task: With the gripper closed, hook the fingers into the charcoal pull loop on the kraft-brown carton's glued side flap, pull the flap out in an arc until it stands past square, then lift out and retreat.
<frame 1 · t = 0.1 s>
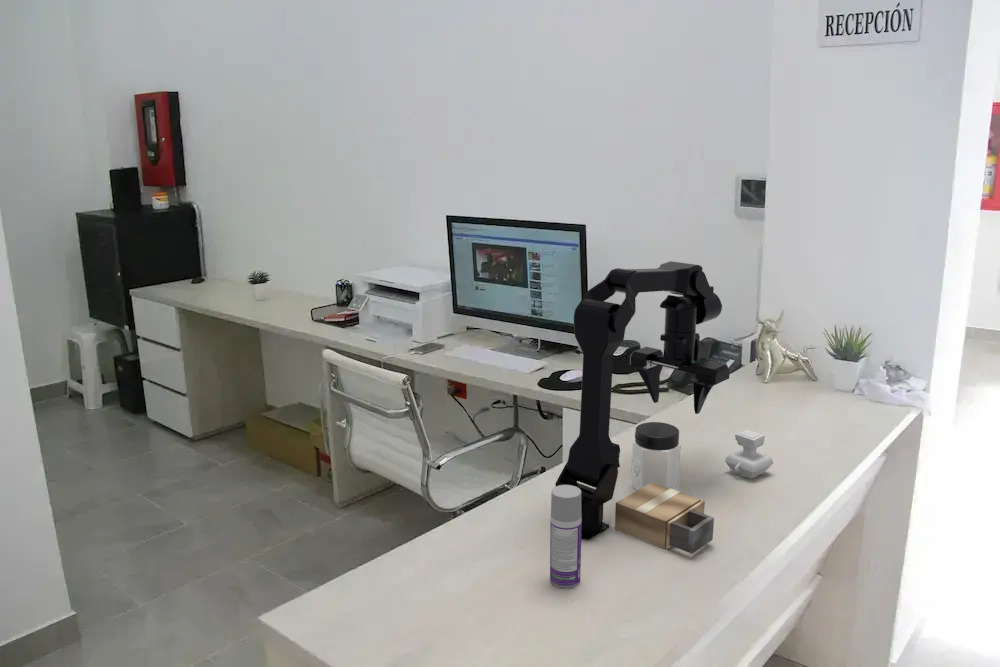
hand: (676, 407, 160), 15 cm above the table, fingers open, 9 cm apart
container: (565, 581, 129), on the table
jar: (654, 489, 160), on the table
stamp: (747, 474, 166), on the table
flap: (697, 527, 139), point 3 cm above the table, hinge at 0.0°
carton: (657, 527, 145), on the table
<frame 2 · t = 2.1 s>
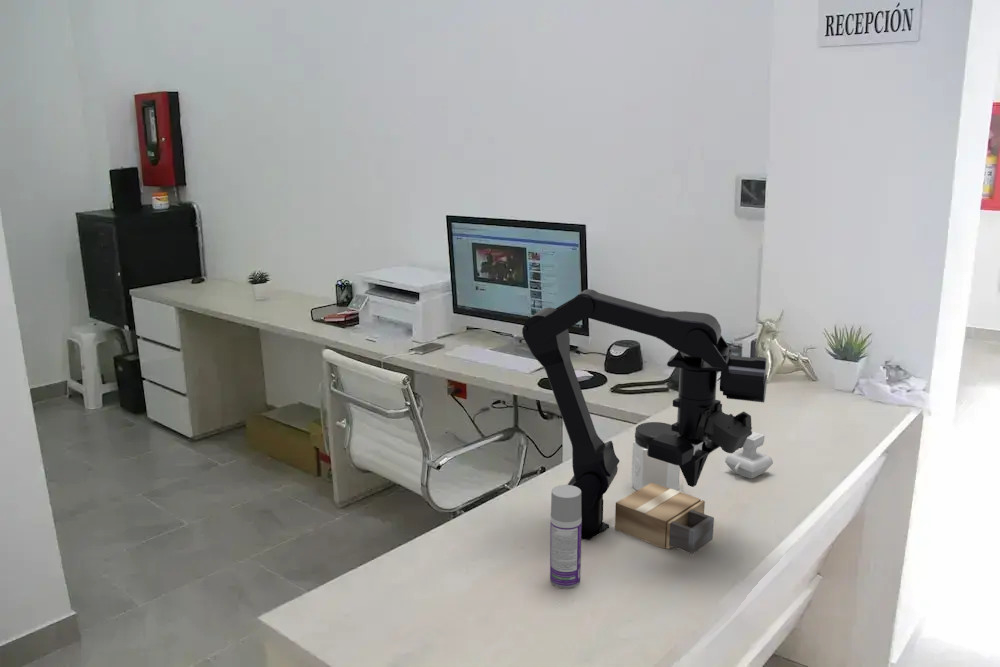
hand: (691, 485, 135), 11 cm above the table, fingers closed
nothing on the table moved.
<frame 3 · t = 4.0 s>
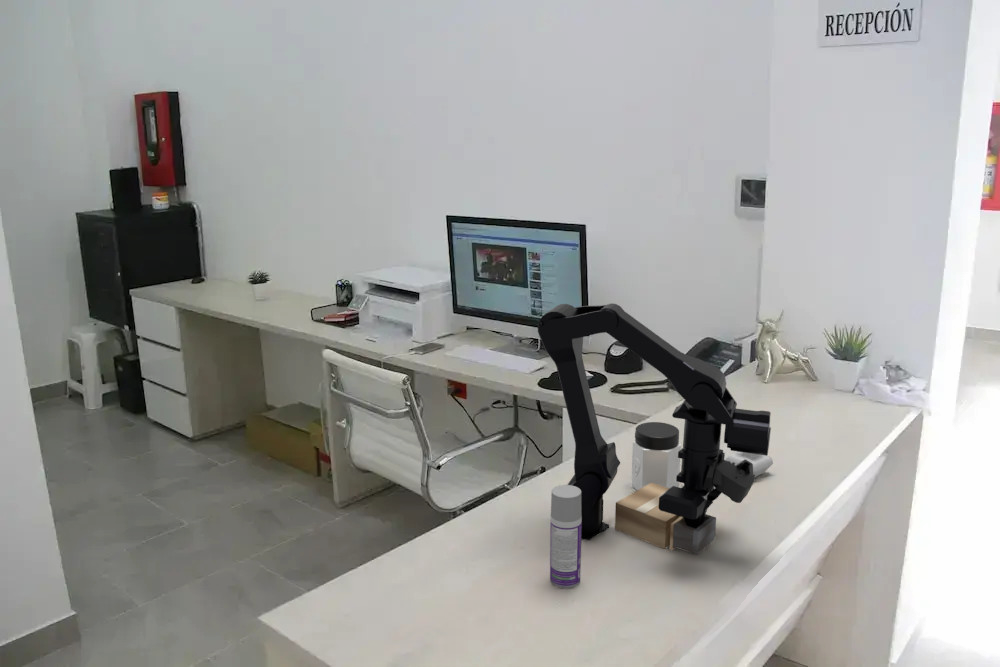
hand: (694, 533, 137), 3 cm above the table, fingers closed
flap: (699, 528, 139), point 3 cm above the table, hinge at 3.4°, touching gripper
everything else where it was.
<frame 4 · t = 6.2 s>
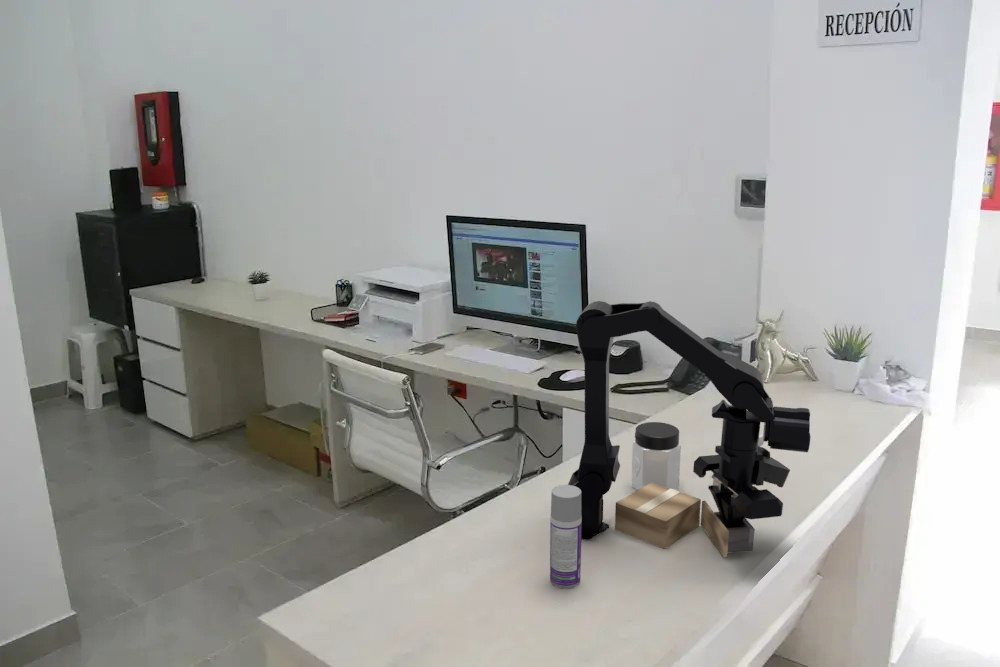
hand: (731, 532, 137), 3 cm above the table, fingers closed
flap: (726, 527, 139), point 3 cm above the table, hinge at 49.9°, touching gripper
everything else where it was.
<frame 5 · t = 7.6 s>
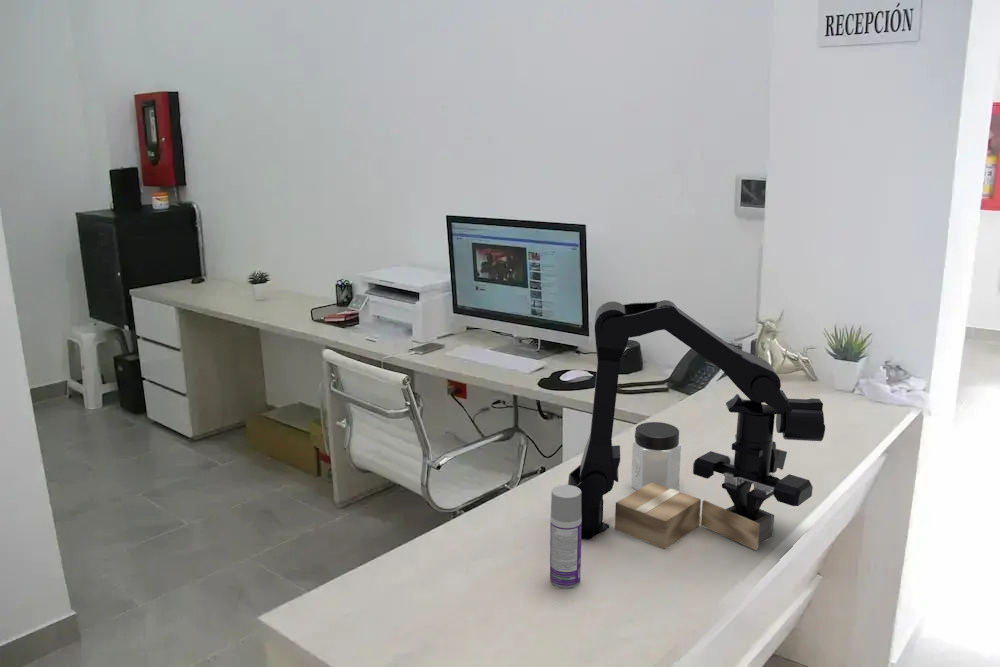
hand: (746, 524, 140), 3 cm above the table, fingers closed
flap: (737, 520, 141), point 3 cm above the table, hinge at 82.6°, touching gripper
everything else where it was.
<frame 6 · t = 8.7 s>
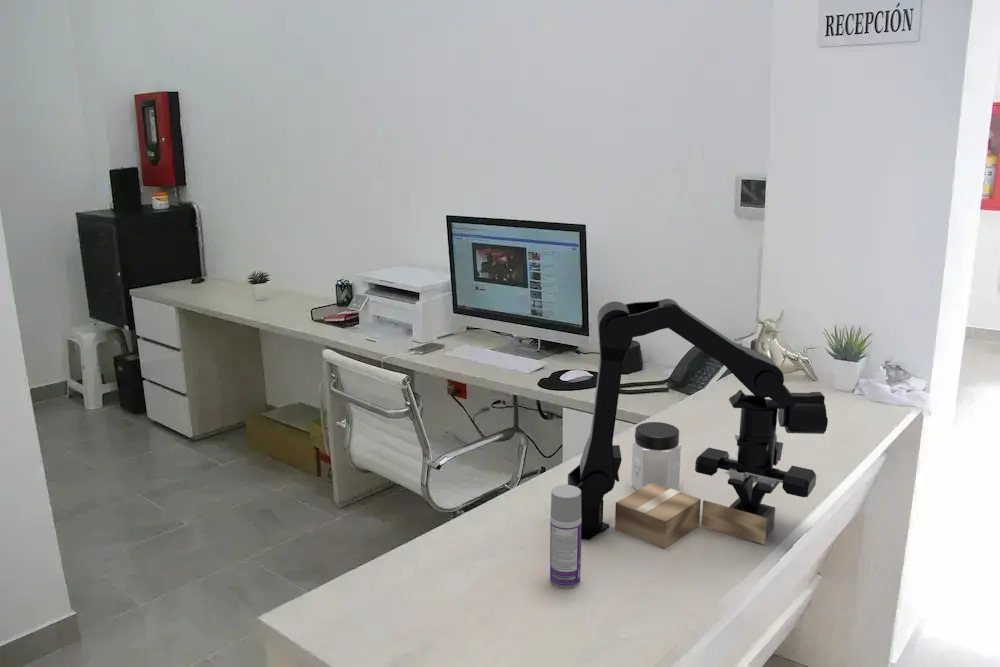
hand: (750, 517, 142), 3 cm above the table, fingers closed
flap: (738, 516, 143), point 3 cm above the table, hinge at 96.5°
everything else where it was.
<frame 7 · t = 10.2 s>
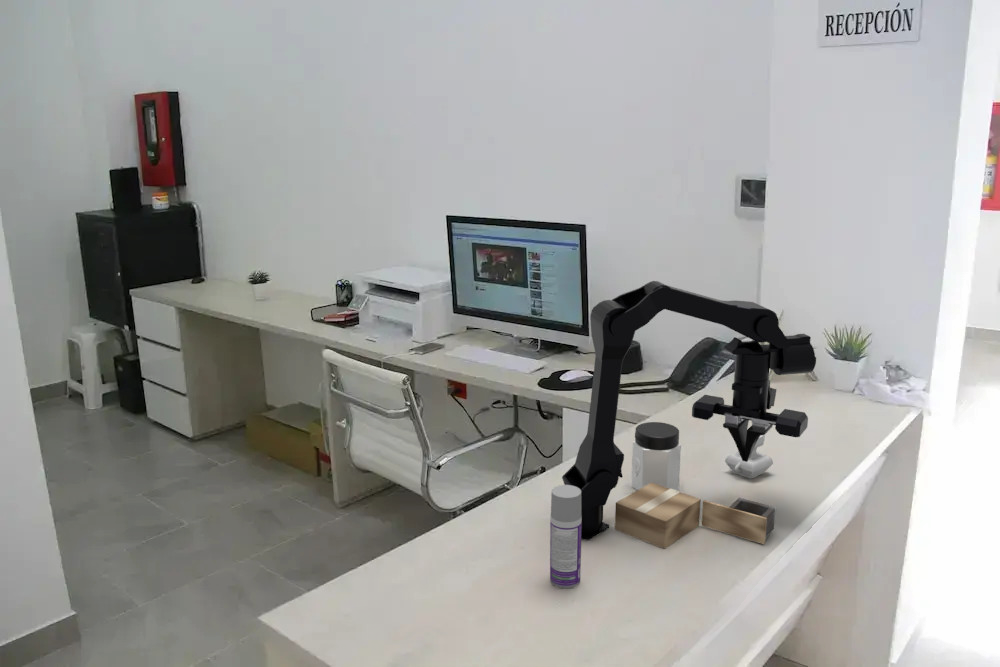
hand: (745, 460, 147), 10 cm above the table, fingers closed
nothing on the table moved.
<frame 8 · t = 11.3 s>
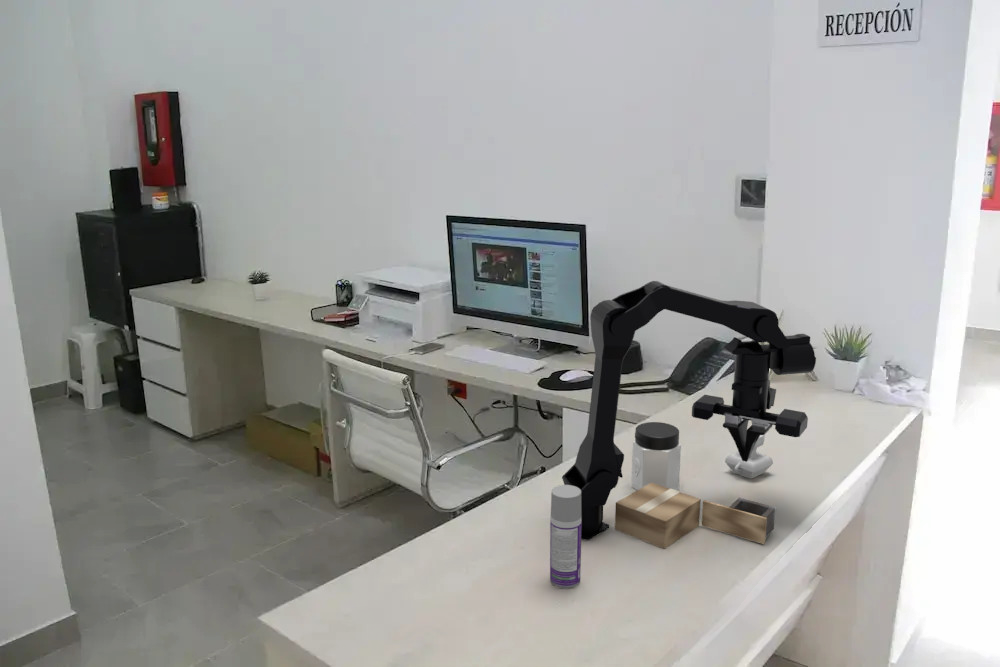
hand: (745, 460, 147), 10 cm above the table, fingers closed
nothing on the table moved.
at the end: flap at +96° (first picture: +0°); the gripper is holding nothing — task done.
